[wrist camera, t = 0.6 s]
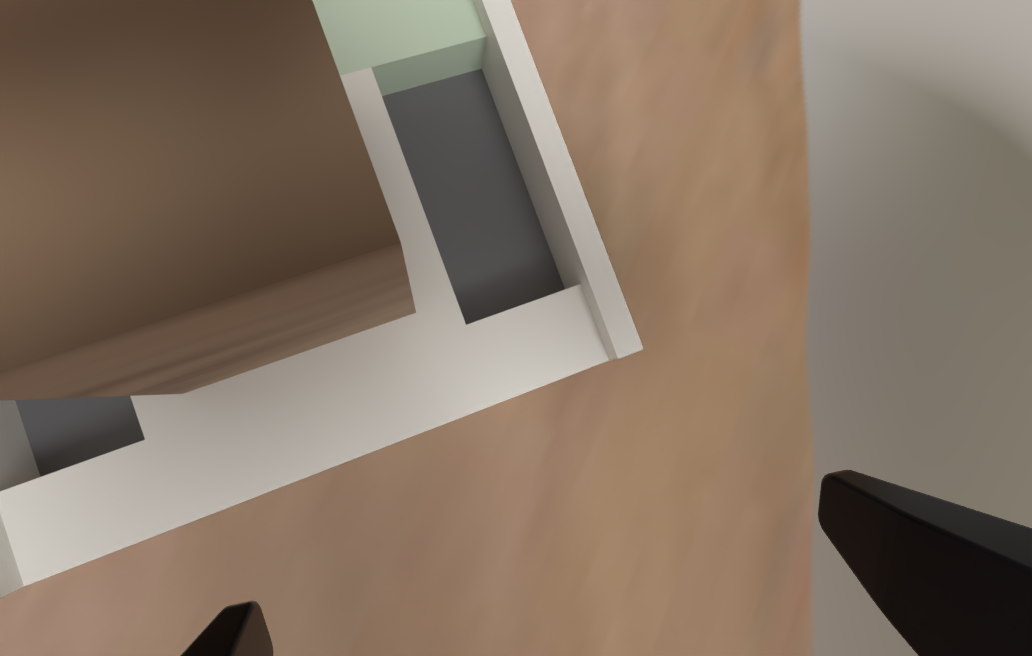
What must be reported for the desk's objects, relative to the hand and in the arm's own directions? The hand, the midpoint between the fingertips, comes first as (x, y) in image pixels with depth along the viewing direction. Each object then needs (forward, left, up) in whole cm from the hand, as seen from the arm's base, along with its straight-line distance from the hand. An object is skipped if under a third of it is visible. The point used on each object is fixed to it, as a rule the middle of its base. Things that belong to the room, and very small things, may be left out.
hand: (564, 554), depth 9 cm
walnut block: (+7, +8, -11) cm, 16 cm away
